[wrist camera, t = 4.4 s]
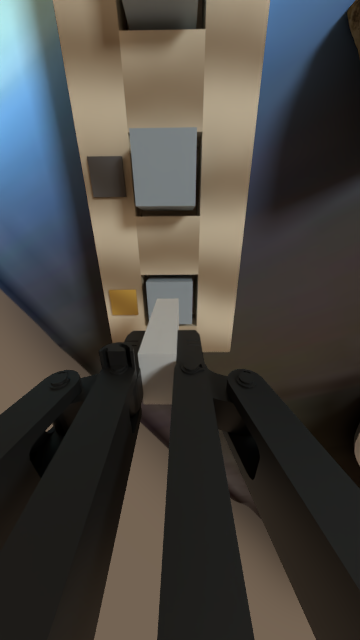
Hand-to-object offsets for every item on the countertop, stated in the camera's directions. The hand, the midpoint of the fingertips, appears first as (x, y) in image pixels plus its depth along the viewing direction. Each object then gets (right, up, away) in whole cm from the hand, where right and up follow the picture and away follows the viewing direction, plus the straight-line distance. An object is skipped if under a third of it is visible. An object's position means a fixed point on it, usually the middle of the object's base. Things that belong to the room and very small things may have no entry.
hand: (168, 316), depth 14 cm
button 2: (0, +3, +7) cm, 7 cm away
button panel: (0, +12, +4) cm, 12 cm away
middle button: (0, +11, +1) cm, 11 cm away
